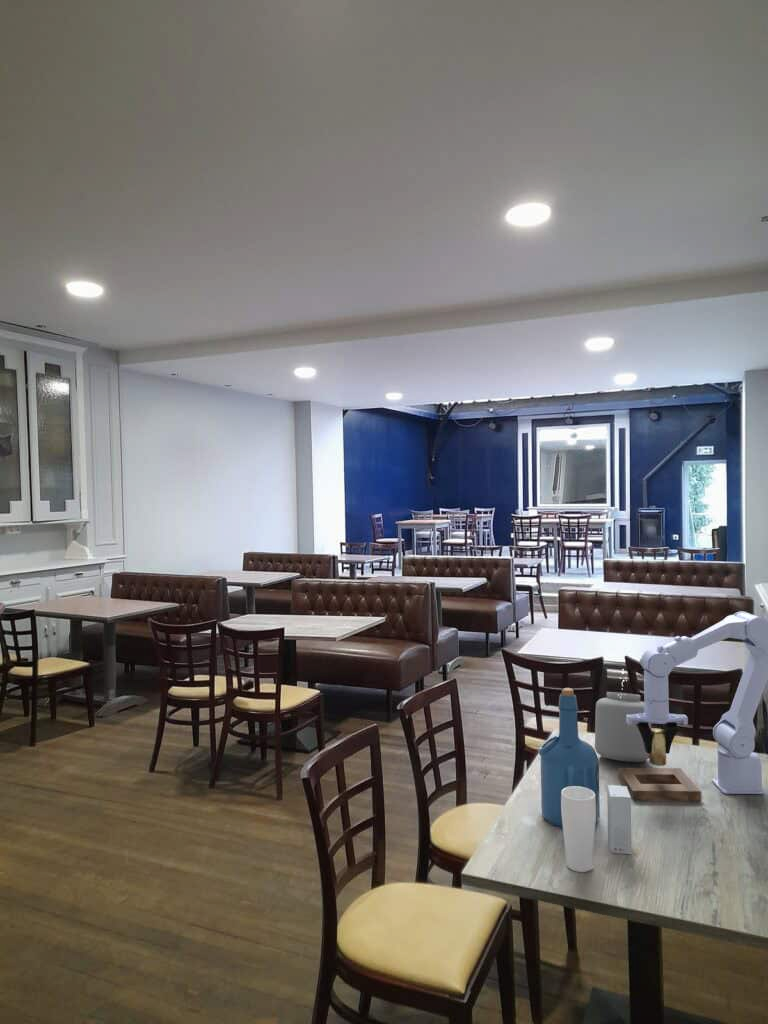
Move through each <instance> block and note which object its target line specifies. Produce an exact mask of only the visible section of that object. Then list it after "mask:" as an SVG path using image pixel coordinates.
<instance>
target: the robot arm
mask: <svg viewBox="0 0 768 1024" xmlns="http://www.w3.org/2000/svg"><path fill="white" fill-rule="evenodd" d="M728 638H730V639H737V640H741V641H743V643H744V645H745V647H746V648H747V649H748V651H749V655H748V658H747V660H746V663H745V666H744V670H743V672H742V675H741V677H740V681H739V683H738V687H737V688H736V692H735V693H734V698H733V700H732V703H731V706H730V708H729V710H728V711H726V712H725V713H723V714H722V715H721V717H720V720H719V721H718V722H717V723H716V724H715V725H714V727H713V729H712V736H713V739H714V740H715V742H716V743H717V778H712V779H711V781H712V783H713V784H714V785H715V786H716V787H717V788H718V789H719V791H721V792H722V793H723V794H726V795H729V794H730V795H732V794H733V795H734V794H736V795H738V794H739V795H763V794H764V791H763V768H762V767H763V766H762V761H761V759H760V757H759V754H757V753H756V752H754V750H755V747H756V745H755V744H756V743H755V736H756V732H757V731H756V727H755V724H754V718H755V715H756V713H757V709H758V706H759V705H760V701H761V698H762V695H763V692H764V690H765V686H766V685H767V681H768V619H767V618H766V617H762V616H757V615H755V614H753V613H752V614H751V613H750V612H748V611H743V610H742V611H741V610H740V611H738V612H737V611H736V612H735V613H733V614H729V615H728V616H725V618H723V619H722V620H720V621H719V622H717V623H715V624H713V625H712V626H709V627H708V628H706V629H704V630H703V631H701V632H699V633H696V634H695V635H694V636H692V637H688V636H685V635H683V636H680V635H677V636H674V637H673V639H674V640H672V641H670V642H668V643H666V644H664V645H661V644H660V645H658V646H657V647H656V649H653V648H650V649H647V650H646V651H645V652H643V654H642V655H641V658H640V659H639V664H640V666H641V667H642V669H643V696H644V697H643V698H644V699H643V702H644V711H645V713H640V714H632V715H626V722H627V724H628V725H632V724H636V725H637V727H638V729H639V731H640V733H641V736H642V739H643V742H644V746H645V751H646V752H647V753H651V746H650V736H651V729H652V728H651V729H650V728H649V725H648V724H651V725H655V724H656V725H657V724H659V725H660V724H661V725H662V730H665V731H666V755H667V754H670V751H671V746H672V744H673V740H674V738H675V736H676V735H677V734H678V732H679V726H678V725H684V726H686V725H687V726H688V725H689V724H688V723H689V718H688V716H687V715H686V714H677V713H670V712H669V711H670V710H669V709H670V704H669V701H670V700H669V696H670V695H669V693H670V692H669V675H670V673H672V670H673V669H674V668H675V667H678V666H680V665H682V664H685V663H686V662H688V661H690V660H692V659H694V658H696V657H697V655H698V654H699V653H698V652H699V650H701V649H704V648H707V647H709V646H711V645H713V644H716V643H719V642H722V641H723V640H727V639H728Z"/></svg>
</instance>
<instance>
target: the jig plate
mask: <svg viewBox="0 0 768 1024" xmlns="http://www.w3.org/2000/svg"><path fill="white" fill-rule="evenodd" d="M617 778H618V780H619V779H620V780H619V781H620V783H621V782H622V783H621V784H622V786H623V785H624V786H627V789H628V791H629V794H630V797H631V801H633V802H691V803H692V802H694V803H695V802H699V803H700V802H702V790H700V789H699V787H697V785H696V784H695V782H693V781H692V780H691V779H690V777H689V776H688V775H687V774H686V773H685V772H684V770H683V769H682V768H680V767H677V768H676V767H617Z"/></svg>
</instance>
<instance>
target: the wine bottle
mask: <svg viewBox="0 0 768 1024" xmlns="http://www.w3.org/2000/svg"><path fill="white" fill-rule="evenodd" d="M573 689H574V688H570V687H565V688H562V689H561V693H560V694H559V699H558V710H559V711H558V713H559V717H558V719H559V720H558V734H556V735H555V736H553V737H551V738H549V739H548V740H547V741H546V742H545V743H544V744H543V745H542V746H541V747H540V748H539V750H537V751H538V752H537V754H539V756H540V758H539V761H540V803H541V805H540V806H541V808H540V809H541V815H542V817H543V819H545V820H546V821H547V822H548V823H549V824H551V825H553V826H557V827H560V828H562V829H563V824H562V815H561V791H562V789H564V788H566V787H570V786H580V787H585V788H588V789H590V790H592V791H593V792H594V793H595V799H596V823H595V824H597V823H598V822H599V820H600V818H601V813H600V812H601V809H600V808H601V807H600V806H601V805H600V803H601V802H600V761H599V757H598V755H597V754H598V753H597V751H596V750H595V747H594V746H592V745H591V744H589V743H588V742H586V741H584V740H583V739H581V738H580V737H579V725H578V724H579V723H578V722H579V721H578V711H579V708H578V703H577V702H578V701H577V695H576V694H574V690H573Z"/></svg>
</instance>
